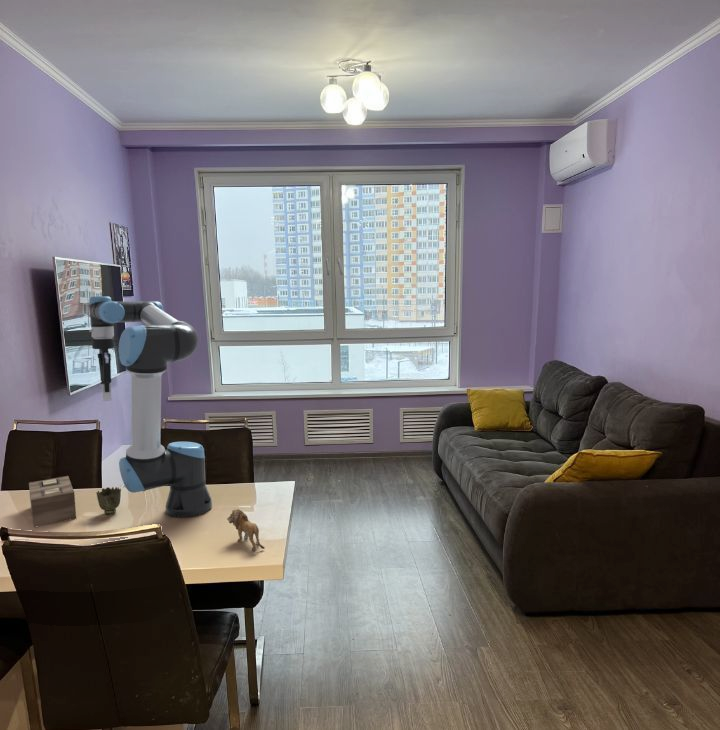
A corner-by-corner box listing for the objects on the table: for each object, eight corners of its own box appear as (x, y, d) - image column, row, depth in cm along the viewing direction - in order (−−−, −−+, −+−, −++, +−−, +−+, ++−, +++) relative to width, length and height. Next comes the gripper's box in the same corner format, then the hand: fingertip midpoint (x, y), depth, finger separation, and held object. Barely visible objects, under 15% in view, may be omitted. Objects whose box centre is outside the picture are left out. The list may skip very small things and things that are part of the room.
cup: (110, 519, 170) (108, 495, 169) (93, 516, 173) (91, 493, 172) (127, 510, 177) (125, 488, 176) (110, 507, 180) (108, 485, 179)
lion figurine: (225, 539, 155) (224, 510, 154) (240, 533, 159) (238, 505, 158) (257, 553, 146) (256, 523, 145) (271, 546, 150) (271, 517, 149)
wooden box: (76, 518, 171) (74, 491, 170) (33, 527, 164) (31, 499, 163) (70, 499, 187) (68, 475, 186) (31, 507, 181) (28, 481, 180)
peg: (58, 504, 179) (56, 482, 178) (45, 507, 177) (43, 484, 176) (57, 500, 182) (55, 479, 182) (44, 503, 180) (42, 481, 179)
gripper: (89, 337, 195) (93, 398, 198) (94, 339, 185) (98, 404, 187) (111, 336, 200) (115, 396, 202) (117, 338, 189) (121, 401, 192)
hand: (107, 400), depth 195 cm, fingers closed
